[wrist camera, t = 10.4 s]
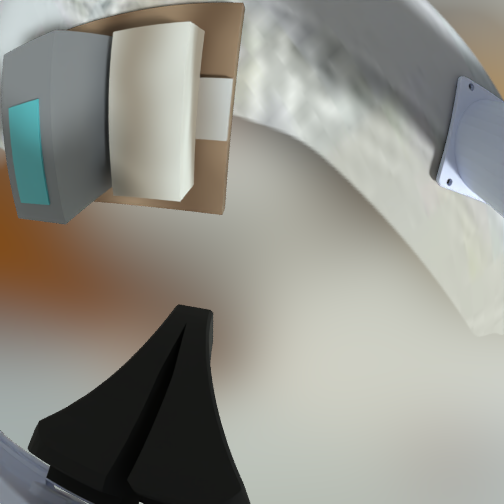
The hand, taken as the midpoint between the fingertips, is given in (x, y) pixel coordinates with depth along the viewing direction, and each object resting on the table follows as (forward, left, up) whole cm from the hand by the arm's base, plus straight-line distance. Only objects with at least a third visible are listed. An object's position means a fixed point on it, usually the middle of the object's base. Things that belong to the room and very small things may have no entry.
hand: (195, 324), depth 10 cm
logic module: (+9, -7, -8) cm, 14 cm away
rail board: (+9, -7, -9) cm, 15 cm away
